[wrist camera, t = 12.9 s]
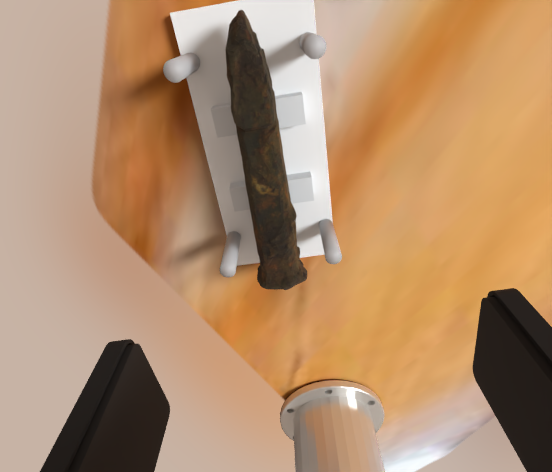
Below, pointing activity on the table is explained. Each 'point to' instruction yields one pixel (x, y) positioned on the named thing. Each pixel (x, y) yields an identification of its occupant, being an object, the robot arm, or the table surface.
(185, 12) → the peg rack
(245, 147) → the dark brown rough rod
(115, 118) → the table surface
